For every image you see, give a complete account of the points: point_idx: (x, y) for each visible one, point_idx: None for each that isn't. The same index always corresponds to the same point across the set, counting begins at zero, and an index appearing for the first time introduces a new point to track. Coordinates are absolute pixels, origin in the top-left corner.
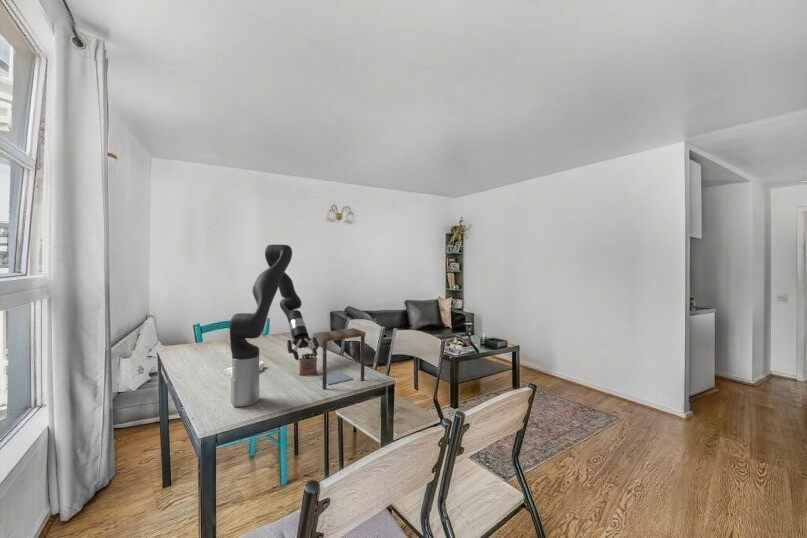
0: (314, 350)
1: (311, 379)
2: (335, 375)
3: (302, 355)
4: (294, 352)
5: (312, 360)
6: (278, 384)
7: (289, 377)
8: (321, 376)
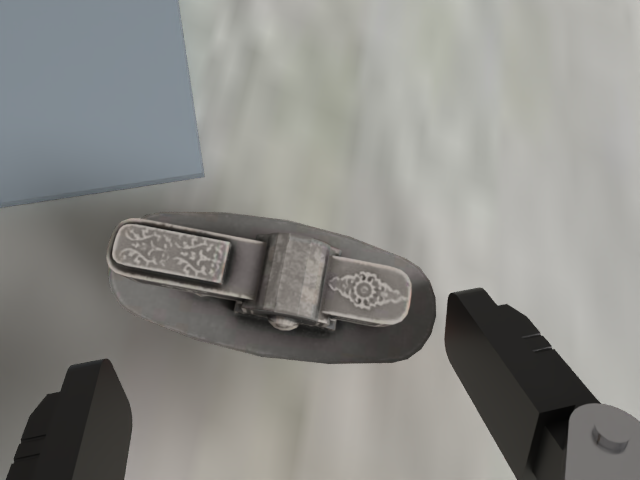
0: (58, 464)
1: (274, 140)
2: (9, 109)
3: (396, 271)
4: (588, 402)
5: (213, 217)
6: (583, 143)
7: None
8: (162, 143)
